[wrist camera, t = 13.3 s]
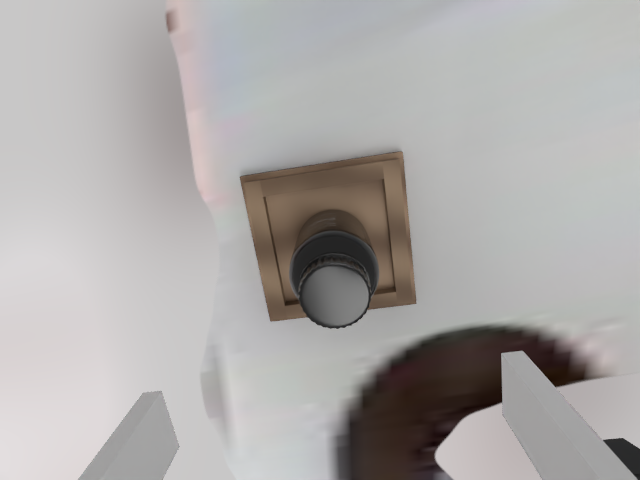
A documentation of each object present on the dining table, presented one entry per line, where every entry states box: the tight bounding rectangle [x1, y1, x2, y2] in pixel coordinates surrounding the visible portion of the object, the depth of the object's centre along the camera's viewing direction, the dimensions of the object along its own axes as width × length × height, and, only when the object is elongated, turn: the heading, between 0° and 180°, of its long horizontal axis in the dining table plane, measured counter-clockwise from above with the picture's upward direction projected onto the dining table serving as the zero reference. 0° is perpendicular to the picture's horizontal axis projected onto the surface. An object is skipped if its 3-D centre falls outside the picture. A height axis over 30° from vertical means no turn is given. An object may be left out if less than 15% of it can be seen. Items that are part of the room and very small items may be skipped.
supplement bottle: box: [289, 209, 379, 329], centre depth 29 cm, size 7×7×12 cm
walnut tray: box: [240, 151, 416, 321], centre depth 35 cm, size 15×15×2 cm
